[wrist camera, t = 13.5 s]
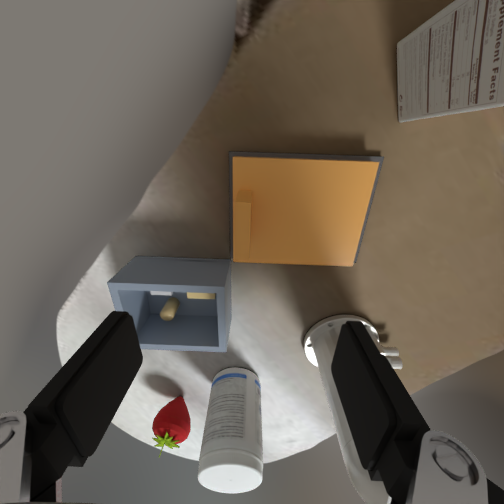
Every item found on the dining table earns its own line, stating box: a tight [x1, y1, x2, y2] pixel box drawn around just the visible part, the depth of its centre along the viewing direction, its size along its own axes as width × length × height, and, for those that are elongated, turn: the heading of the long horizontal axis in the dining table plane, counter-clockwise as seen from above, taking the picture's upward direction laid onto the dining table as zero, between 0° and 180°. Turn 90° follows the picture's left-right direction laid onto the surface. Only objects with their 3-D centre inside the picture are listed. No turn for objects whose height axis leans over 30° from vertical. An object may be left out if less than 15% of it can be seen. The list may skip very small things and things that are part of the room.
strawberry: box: [152, 396, 190, 454], centre depth 43 cm, size 6×8×10 cm
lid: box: [233, 156, 379, 266], centre depth 25 cm, size 16×13×8 cm
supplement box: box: [397, 0, 504, 122], centre depth 17 cm, size 7×7×13 cm
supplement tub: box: [198, 367, 263, 493], centre depth 38 cm, size 10×10×15 cm
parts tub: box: [107, 256, 231, 352], centre depth 32 cm, size 14×11×7 cm
